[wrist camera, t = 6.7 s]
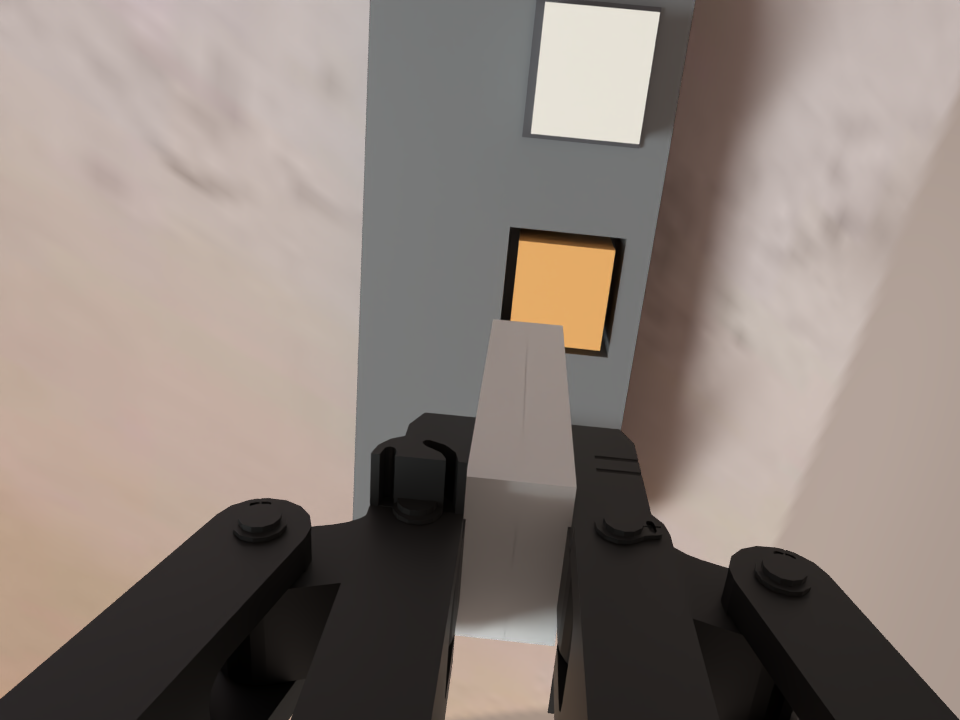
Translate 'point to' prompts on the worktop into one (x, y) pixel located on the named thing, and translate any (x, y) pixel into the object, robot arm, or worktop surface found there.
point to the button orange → (564, 283)
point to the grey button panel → (503, 188)
